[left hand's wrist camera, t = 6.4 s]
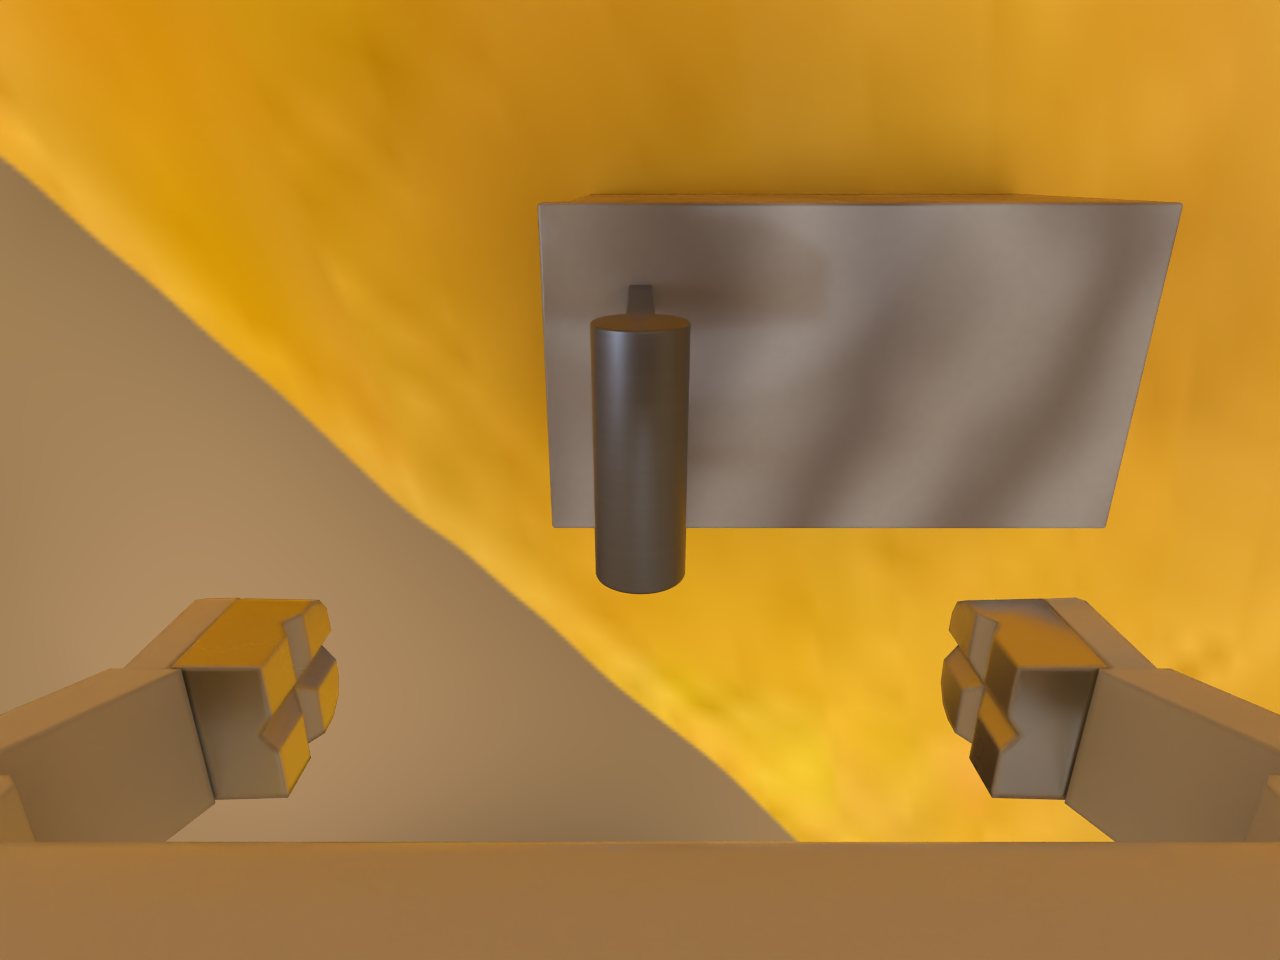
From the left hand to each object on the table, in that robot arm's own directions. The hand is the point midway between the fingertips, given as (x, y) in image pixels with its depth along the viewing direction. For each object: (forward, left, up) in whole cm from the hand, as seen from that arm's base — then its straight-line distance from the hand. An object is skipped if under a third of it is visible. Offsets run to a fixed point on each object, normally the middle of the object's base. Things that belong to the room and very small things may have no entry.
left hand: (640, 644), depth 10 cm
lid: (+4, +5, -16) cm, 17 cm away
